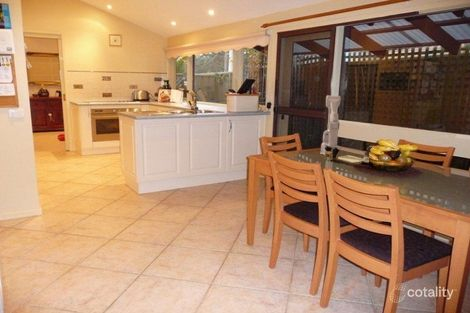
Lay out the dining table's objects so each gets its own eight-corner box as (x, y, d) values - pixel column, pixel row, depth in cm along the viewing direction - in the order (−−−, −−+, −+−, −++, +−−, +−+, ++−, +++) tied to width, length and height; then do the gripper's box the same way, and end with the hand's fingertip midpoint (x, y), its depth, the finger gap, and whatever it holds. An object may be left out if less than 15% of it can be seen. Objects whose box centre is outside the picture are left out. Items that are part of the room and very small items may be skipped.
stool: (329, 161, 241) (330, 152, 240) (324, 159, 246) (325, 151, 244) (338, 160, 245) (338, 151, 244) (332, 158, 250) (333, 150, 248)
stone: (358, 166, 235) (359, 145, 239) (364, 170, 241) (365, 150, 245) (379, 165, 225) (379, 143, 229) (384, 169, 232) (385, 147, 236)
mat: (333, 157, 253) (333, 157, 253) (348, 156, 261) (349, 155, 261) (352, 163, 238) (352, 162, 238) (368, 161, 246) (368, 160, 246)
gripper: (321, 137, 247) (319, 156, 249) (336, 140, 234) (334, 160, 237) (328, 136, 250) (327, 155, 253) (344, 140, 238) (342, 159, 241)
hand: (331, 157), depth 245 cm, fingers closed on stool, 5 cm apart
